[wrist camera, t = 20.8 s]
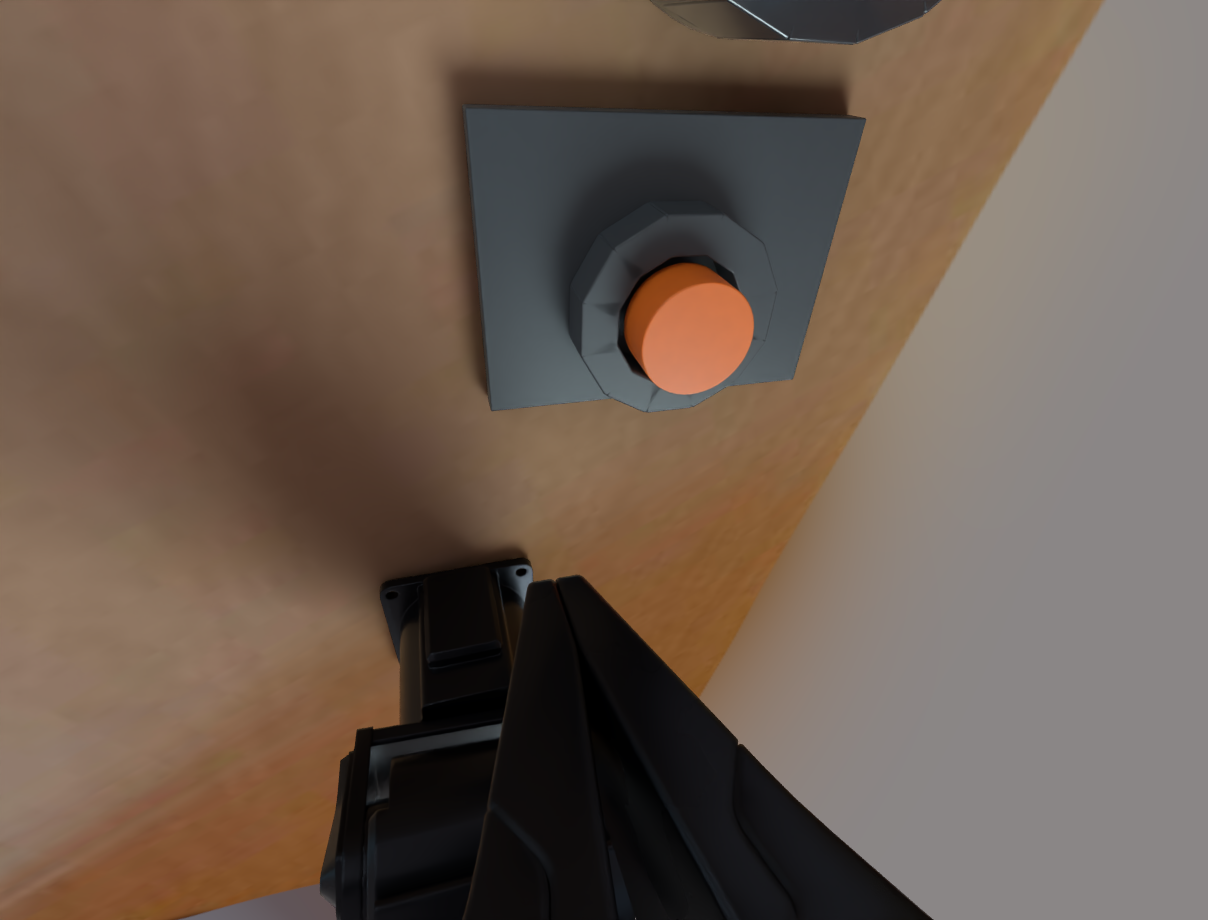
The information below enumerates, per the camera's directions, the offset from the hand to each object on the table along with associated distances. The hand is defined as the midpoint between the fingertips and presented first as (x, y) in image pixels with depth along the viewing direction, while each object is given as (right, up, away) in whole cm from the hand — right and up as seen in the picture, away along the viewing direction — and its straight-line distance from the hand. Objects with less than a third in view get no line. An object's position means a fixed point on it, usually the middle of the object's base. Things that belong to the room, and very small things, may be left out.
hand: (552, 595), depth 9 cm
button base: (+3, +9, +10) cm, 14 cm away
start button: (+3, +7, +9) cm, 12 cm away
